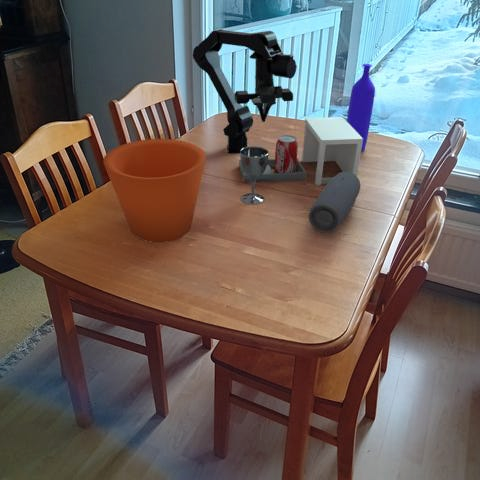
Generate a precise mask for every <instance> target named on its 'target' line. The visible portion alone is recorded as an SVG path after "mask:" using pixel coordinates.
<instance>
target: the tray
mask: <svg viewBox="0 0 480 480" xmlns="http://www.w3.org/2000/svg"><path fill="white" fill-rule="evenodd" d="M238 161H239V162H238V165H239V171H240V174H241V178H242V180H243V183H251V181H250V179H249V177H248V176H247V175H246V174H245V173H244V172H243V170H242V167H241V161H240V159H239V160H238ZM272 168H275V158H268V162H267V166H266V169H265V171H264V173H263V174H262V175H261V176H260V177H259V178H258V179H257V180H256V182H255V183H266V182H268V183H269V182H290V181H306V179H307V172H306V170H305V168H304V166H303V165H302V163H301V161H300V160H299V158H298V157H297V162H296V171H297V172H295V173H276V172H275V173H273V171H272Z"/></svg>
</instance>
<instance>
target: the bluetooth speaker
mask: <svg viewBox="0 0 480 480" xmlns="http://www.w3.org/2000/svg"><path fill="white" fill-rule="evenodd" d="M360 190H361V181H360V179H359V177H358V175H357V176H356V175H355V174H353V173H351V172H347V171H344V172H343V171H341V172H338V173H337V174H336V175H334V178H333V179H332V180H331V181H330V182H329V183H326V185H325V187H324V188H323V189H322V191H321V192H320V194H319V195H318V197H317V198H316V199H315V200H314V203H313V204H312V206H311V208H310V210H309V213H308V221H309V222H308V223H310V225H311V227H312V228H313V229H314V230H316V231H318V232H321V233H325V234H330V233H333V232H334V231H336V230H337V229H338V228H339V227H340V226H341V224H342V223H343V222H344V220H345V219H346V217H347V216H348V215H349V213H350V212H351V210H352V208H353V206H354V204H355V202H356V199H357V198H358V195H359V193H360Z"/></svg>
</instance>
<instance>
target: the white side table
mask: <svg viewBox="0 0 480 480" xmlns="http://www.w3.org/2000/svg"><path fill="white" fill-rule="evenodd" d="M303 133H304V135H303V143H302V154H301V162H302V163H313V162H314V163H316V162H317V163H316V170H315V171H316V172H315V178H314V184H315V185H316V186H321V185H322V184H328V183H329V182H330V181H331V180H332V179H333V178H334V177H335V176H334V177H323V170H324V164H325V163H324V162H336V164H337V165H338V167H339V168H340V170H341V172H344V171H347V172H351V173H353V174H355V175H356V176H357V177H358V172H359V165H360V159H361V155H362V151H361V149H362V143H363V138H362V137H361V136H360V135H359V134H358V133H357V132H356V131H355V130H354V129H353V128H352V126H351V125H350V124H349V123H348V122H347V119H345V118H344V116H342V117H341V116H339V117H338V116H336V117H335V116H333V117H331V116H330V117H305V118H304V132H303Z"/></svg>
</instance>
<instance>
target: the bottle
mask: <svg viewBox="0 0 480 480" xmlns="http://www.w3.org/2000/svg"><path fill="white" fill-rule="evenodd" d="M362 66H363V72H362V76H361V77H360V78H359V79H358V80H357V81H356V82H355V83H354V84H353V85H352V88H351V93H350V96H349V98H350V99H349V104H348V110H347V116H346V121H347V122H348V123H349V124H350V125H351V126H352V128H353V129H354V130H355V131H356V132H357V133H358V134H359V135H360V136H361V137H362V138H363V143H362V149H361V152H363V151H364V150H365V149H366V146H367V142H368V136H369V132H370V125H371V120H372V114H373V107H374V101H375V95H376V93H375V92H376V87H375V84H374V83H373V81H372V80H371V78H370V69H371V68H372V67H373V65H372V64H371V63H362Z"/></svg>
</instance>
